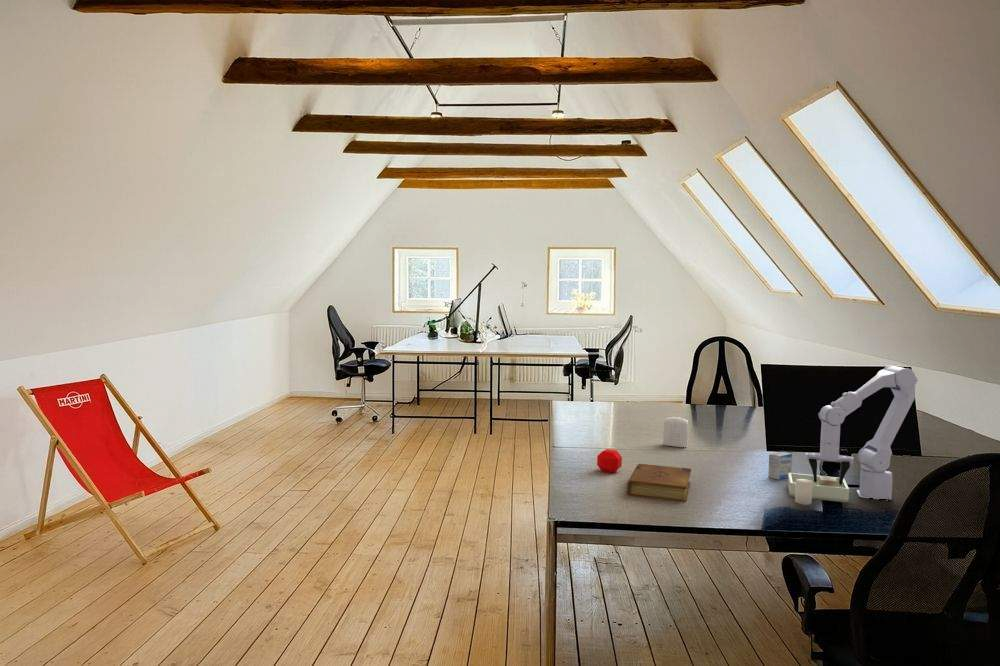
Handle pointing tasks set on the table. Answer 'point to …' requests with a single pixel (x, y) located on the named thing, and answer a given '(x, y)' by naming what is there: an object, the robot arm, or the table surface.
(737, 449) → the table surface
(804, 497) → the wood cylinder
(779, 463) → the medicine box
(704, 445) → the table surface
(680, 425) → the white rounded block
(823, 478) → the oak cube
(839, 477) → the robot arm
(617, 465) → the ball
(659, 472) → the diary
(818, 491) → the tote
